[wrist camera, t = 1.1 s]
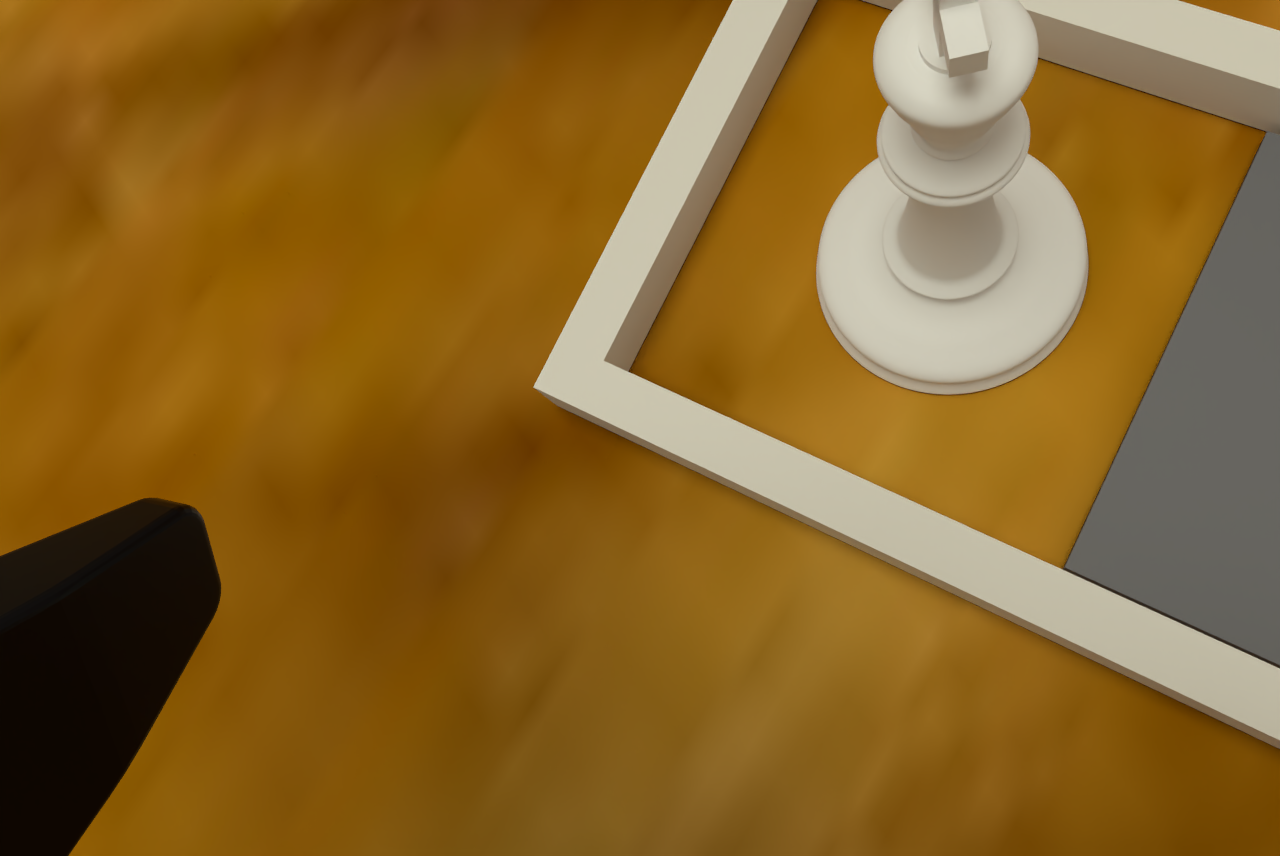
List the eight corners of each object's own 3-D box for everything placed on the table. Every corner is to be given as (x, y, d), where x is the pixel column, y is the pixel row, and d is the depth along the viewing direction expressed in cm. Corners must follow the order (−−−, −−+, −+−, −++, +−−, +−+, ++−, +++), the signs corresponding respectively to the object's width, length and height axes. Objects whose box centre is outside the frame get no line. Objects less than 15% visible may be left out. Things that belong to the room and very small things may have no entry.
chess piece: (1058, 121, 23) (1142, -293, 13) (1113, 369, 22) (1251, 109, 12) (798, 176, 24) (705, -172, 14) (838, 416, 23) (765, 210, 13)
